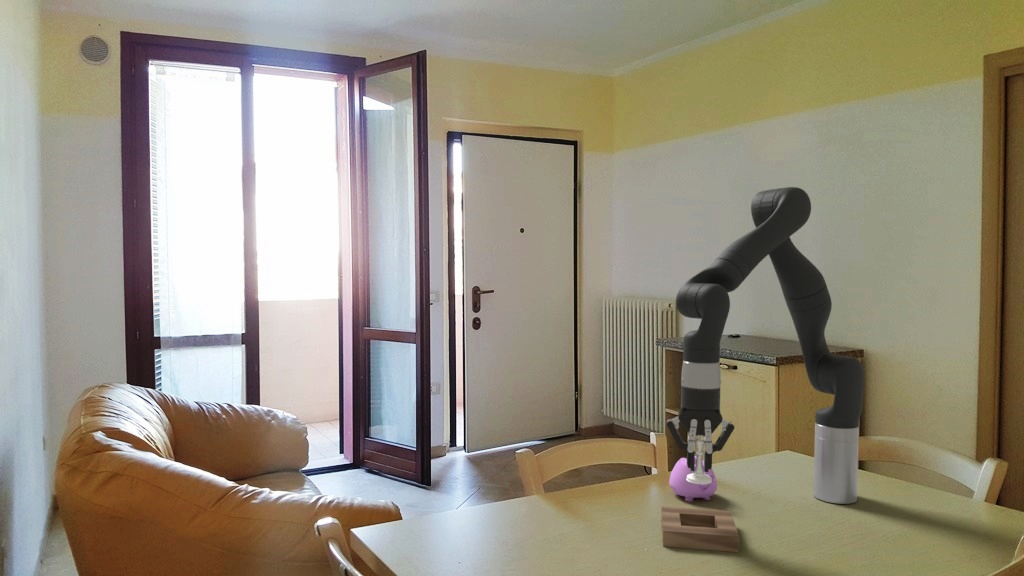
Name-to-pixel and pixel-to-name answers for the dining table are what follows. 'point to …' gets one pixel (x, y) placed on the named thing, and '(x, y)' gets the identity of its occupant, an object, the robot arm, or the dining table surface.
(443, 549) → the dining table surface
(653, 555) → the dining table surface
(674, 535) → the socket block
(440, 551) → the dining table surface
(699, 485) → the teapot
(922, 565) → the dining table surface
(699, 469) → the chess piece
